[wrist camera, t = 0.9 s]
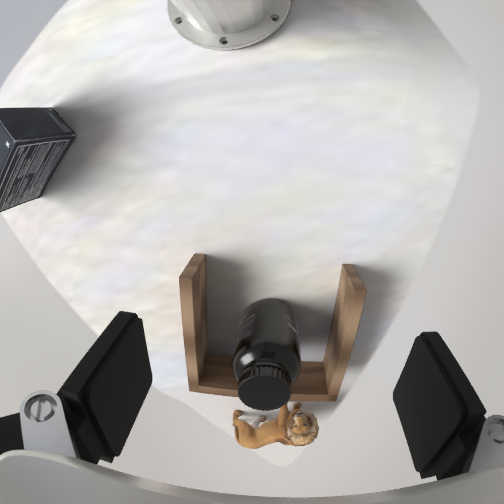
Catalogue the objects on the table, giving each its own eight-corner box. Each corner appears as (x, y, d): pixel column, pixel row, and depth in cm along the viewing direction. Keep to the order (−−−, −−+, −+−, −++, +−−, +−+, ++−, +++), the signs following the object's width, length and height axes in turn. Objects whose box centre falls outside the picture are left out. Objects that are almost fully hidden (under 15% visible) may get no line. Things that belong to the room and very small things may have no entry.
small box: (50, 104, 28) (-11, 104, 19) (78, 134, 30) (17, 141, 20) (15, 168, 32) (-40, 185, 22) (40, 199, 33) (-16, 223, 23)
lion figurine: (302, 377, 39) (306, 428, 31) (323, 396, 41) (328, 445, 32) (223, 414, 43) (214, 460, 35) (245, 430, 45) (239, 475, 36)
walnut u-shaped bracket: (194, 253, 34) (179, 277, 28) (353, 264, 33) (366, 290, 27) (199, 359, 39) (189, 391, 34) (330, 368, 38) (335, 401, 33)
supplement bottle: (309, 311, 35) (319, 384, 24) (280, 351, 38) (279, 425, 27) (256, 286, 35) (247, 356, 24) (230, 329, 37) (214, 402, 26)
